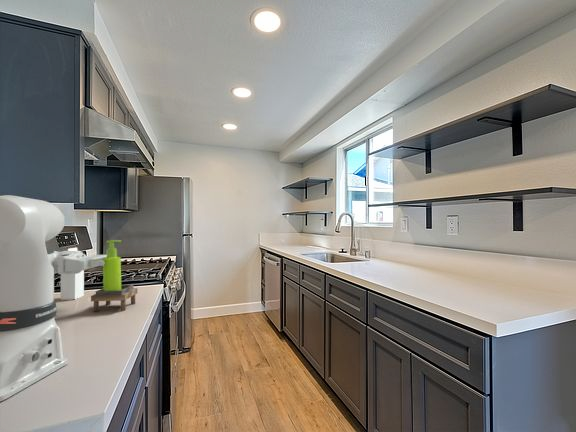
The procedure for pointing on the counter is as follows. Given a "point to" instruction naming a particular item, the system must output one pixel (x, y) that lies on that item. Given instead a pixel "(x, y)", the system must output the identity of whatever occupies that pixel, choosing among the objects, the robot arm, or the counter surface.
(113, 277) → the soap dispenser
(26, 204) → the robot arm
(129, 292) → the stool
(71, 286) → the milk
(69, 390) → the counter surface
